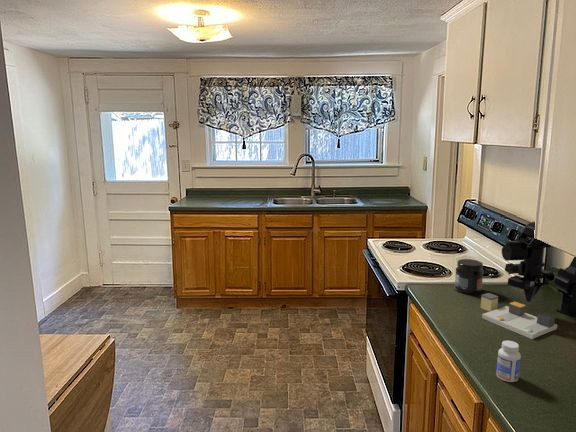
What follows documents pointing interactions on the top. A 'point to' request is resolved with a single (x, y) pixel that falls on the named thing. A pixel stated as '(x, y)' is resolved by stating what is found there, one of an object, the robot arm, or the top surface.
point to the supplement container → (469, 276)
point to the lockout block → (489, 301)
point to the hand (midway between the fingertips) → (528, 301)
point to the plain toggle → (545, 319)
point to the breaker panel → (518, 322)
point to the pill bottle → (508, 361)
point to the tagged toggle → (517, 308)
